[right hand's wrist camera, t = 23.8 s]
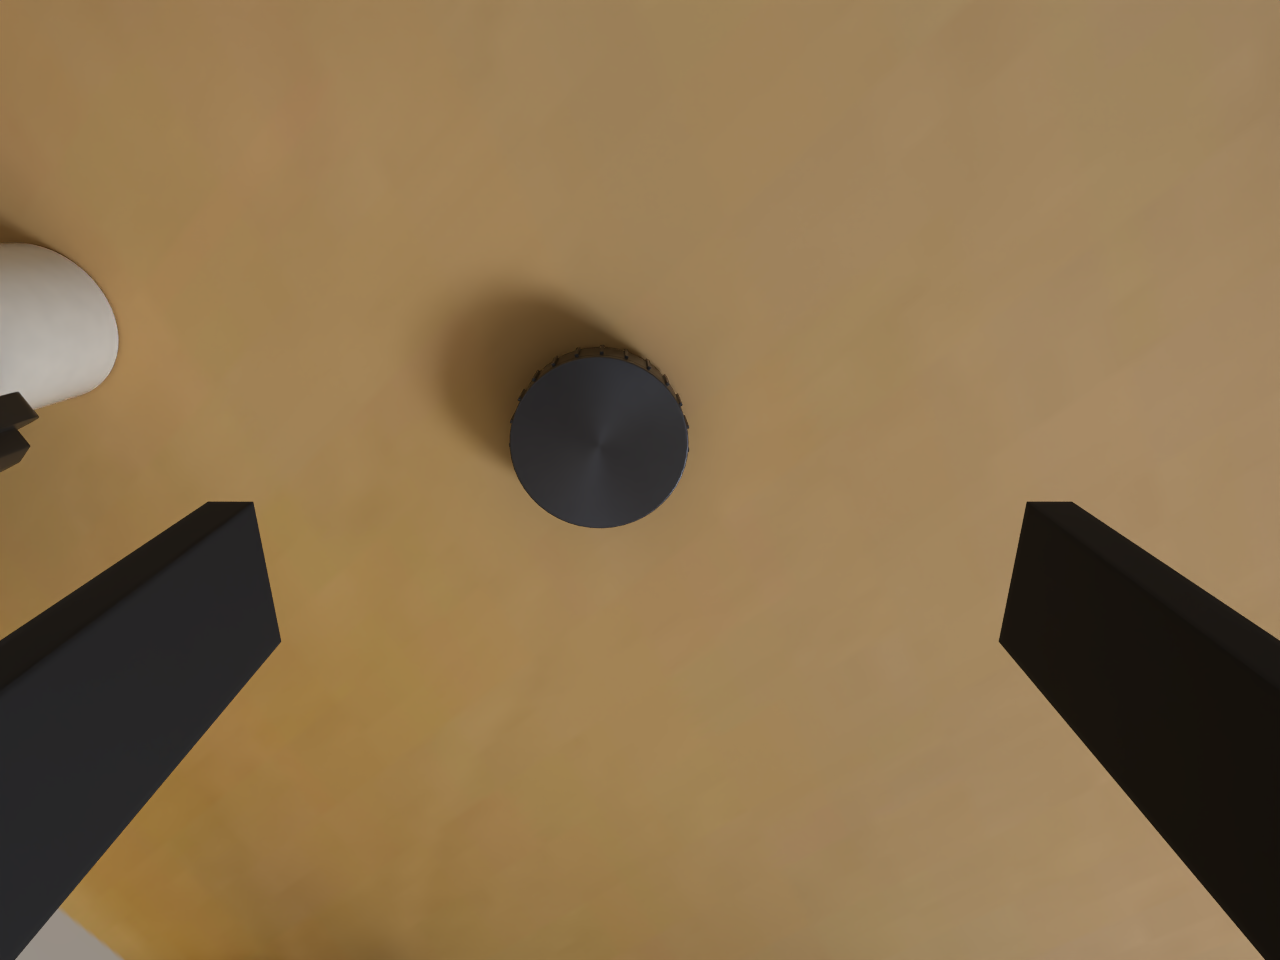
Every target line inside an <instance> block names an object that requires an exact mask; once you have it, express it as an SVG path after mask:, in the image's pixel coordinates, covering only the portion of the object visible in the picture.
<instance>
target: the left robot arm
mask: <svg viewBox="0 0 1280 960" xmlns="http://www.w3.org/2000/svg"><path fill="white" fill-rule="evenodd" d="M38 418H39V416H38V415H37V414H36V412H35V411H34V410H33V409H32V407H31V406H30V405H29V404H28V402H27V401H26V400H25V399H24V397H23V396H22V395H21V394H20V392H13V393H9V394H5V395H2V396H0V472H2V471H4V470H6V469H7V468H9V467H11V466H13V465H15V464H17V463H19V462H20V461H21V459H22V458H23V456H24V455H25V453H26V452H27V450H28V449H29V447H30V445H29V444H28V442H27V441H26V440H25V439H24V437H23V436H22V435H21V434H20V433H19V431H18V429H20V428H22V427H23V426H25V425H27V424H29V423H31V422H33V421H34V420H36V419H38Z"/></svg>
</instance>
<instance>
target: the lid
mask: <svg viewBox="0 0 1280 960" xmlns="http://www.w3.org/2000/svg"><path fill="white" fill-rule="evenodd" d="M518 401H520V402H519V405H518V407H517V409H516V411H515V413H514V415H513V417H512V419H511V421H510V423H512V424H511V431H510V443H509V447H510V452H511V459H512V463H513V466H514V470H515V472H516V474H517V477H518V479H519V481H520V482H521V484H522V486H523V487H524V489H525V490H526V492H527V493H528V494H529V495H530V497H531V498H532V499H533V500H534V501H535V502H536V503H537V504H538V505H539V506H540V507H542V508H543V509H544V510H546V511H547V512H548V513H550V514H552V515H553V516H555V517H557V518H559V519H561V520H563V521H566V522H568V523H571V524H575V525H578V526H583V527H589V528H610V527H617V526H621V525H625V524H628V523H631V522H634V521H636V520H639V519H641V518H643V517H645V516H646V515H648V514H649V513H651V512H652V511H654V510H655V509H656V508H658V507H659V506H660V505H661V504H662V503H663V502H664V501H665V500H666V499H667V498H668V497H669V496H670V494H671V493H672V492H673V490H674V489H675V487H676V486H677V484H678V482H679V480H680V478H681V476H682V473H683V471H684V468H685V465H686V460H687V456H688V452H689V447H688V431H687V429H689V425H688V423H687V420H686V417H685V415H683V412H682V410H681V407H680V406H682V402H681V400H680V397H679V395H678V394H676V395H675V393H674V391H673V389H672V387H671V386H670V384H669V381H668V378H667V376H666V375H665V374H664V375H662V374H661V373H660V372H659V371H658V370H657V369H656V368H654V367H653V366H652V365H651V364H650V361H649V360H648V359H646V360H643V359H642V358H640V357H638V356H636V355H634V354H632V353H629V352H628V350H627V349H624V351H622V350H618V349H613V348H604V345H601V347H596V348H586V349H580V347H579V348H577V349H576V351H573V352H571V353H568V354H565V355H563V356H561V357H559V358H558V356H556V357H555V358H554V360H553V362H551V363H550V364H548V365H547V366H546V367H545V368H544V369H542V370H541V371H539V370H538V371H537V372H536V373H535V375H534V377H533V379H532V382H531V383H530V385H529V387H528V388H527V390H526V389H524V390H523V392H522V393H521V395H520V397H519V399H518Z"/></svg>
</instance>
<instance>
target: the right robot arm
mask: <svg viewBox="0 0 1280 960" xmlns="http://www.w3.org/2000/svg"><path fill="white" fill-rule="evenodd" d="M280 642H281V638H280V633H279V628H278V623H277V618H276V613H275V608H274V603H273V598H272V593H271V588H270V583H269V578H268V573H267V568H266V563H265V558H264V553H263V548H262V543H261V538H260V533H259V528H258V523H257V518H256V513H255V508H254V503H253V502H207V503H205V504H204V505H202V506H201V507H199V508H198V509H196V510H195V511H193V512H192V513H190V514H189V515H187V516H186V517H185V518H183V519H182V520H180V521H179V522H177V523H176V524H174V525H173V526H171V527H170V528H168V529H167V530H165V531H164V532H162V533H161V534H159V535H158V536H156V537H155V538H153V539H152V540H150V541H149V542H147V543H146V544H144V545H143V546H141V547H140V548H138V549H137V550H135V551H134V552H132V553H131V554H129V555H128V556H126V557H125V558H123V559H122V560H120V561H119V562H117V563H116V564H114V565H113V566H111V567H110V568H108V569H107V570H105V571H104V572H102V573H101V574H99V575H98V576H96V577H95V578H93V579H92V580H90V581H89V582H87V583H86V584H84V585H83V586H81V587H80V588H78V589H77V590H75V591H74V592H72V593H71V594H69V595H68V596H66V597H65V598H63V599H62V600H60V601H59V602H57V603H56V604H54V605H53V606H51V607H50V608H48V609H47V610H45V611H44V612H42V613H41V614H39V615H38V616H36V617H35V618H33V619H32V620H30V621H29V622H27V623H26V624H24V625H23V626H21V627H20V628H18V629H17V630H15V631H14V632H12V633H11V634H10V635H8V636H7V637H5V638H4V639H2V640H1V641H0V960H15V959H16V958H17V957H18V955H19V954H20V953H21V952H22V951H23V949H24V948H25V947H26V946H27V945H28V943H29V942H30V941H31V940H32V939H33V937H34V936H35V935H36V934H37V933H38V931H39V930H40V929H41V928H42V927H43V926H44V924H45V923H46V922H47V921H48V920H49V918H50V917H51V916H52V915H53V914H54V912H55V911H56V910H57V909H58V908H59V906H60V905H61V904H62V903H63V902H64V900H65V899H66V898H67V897H68V896H69V894H70V893H71V892H72V891H73V890H74V888H75V887H76V886H77V885H78V884H79V883H80V881H81V880H82V879H83V878H84V877H85V875H86V874H87V873H88V872H89V871H90V869H91V868H92V867H93V866H94V865H95V863H96V862H97V861H98V860H99V859H100V857H101V856H102V855H103V854H104V853H105V851H106V850H107V849H108V848H109V847H110V845H111V844H112V843H113V842H114V841H115V840H116V838H117V837H118V836H119V835H120V834H121V832H122V831H123V830H124V829H125V828H126V826H127V825H128V824H129V823H130V822H131V820H132V819H133V818H134V817H135V816H136V814H137V813H138V812H139V811H140V810H141V808H142V807H143V806H144V805H145V804H146V802H147V801H148V800H149V799H150V798H151V797H152V795H153V794H154V793H155V792H156V791H157V789H158V788H159V787H160V786H161V785H162V783H163V782H164V781H165V780H166V779H167V777H168V776H169V775H170V774H171V773H172V771H173V770H174V769H175V768H176V767H177V765H178V764H179V763H180V762H181V761H182V759H183V758H184V757H185V756H186V755H187V754H188V752H189V751H190V750H191V749H192V748H193V746H194V745H195V744H196V743H197V742H198V740H199V739H200V738H201V737H202V736H203V734H204V733H205V732H206V731H207V730H208V728H209V727H210V726H211V725H212V724H213V722H214V721H215V720H216V719H217V718H218V716H219V715H220V714H221V713H222V712H223V710H224V709H225V708H226V707H227V706H228V705H229V703H230V702H231V701H232V700H233V699H234V697H235V696H236V695H237V694H238V693H239V691H240V690H241V689H242V688H243V687H244V685H245V684H246V683H247V682H248V681H249V679H250V678H251V677H252V676H253V675H254V673H255V672H256V671H257V670H258V669H259V667H260V666H261V665H262V664H263V663H264V662H265V660H266V659H267V658H268V657H269V656H270V654H271V653H272V652H273V651H274V650H275V648H276V647H277V646H278V645H279V644H280ZM999 642H1000V644H1001V645H1002V646H1003V647H1004V648H1005V650H1006V651H1007V652H1008V653H1009V654H1010V656H1011V657H1012V658H1013V659H1014V660H1015V662H1016V663H1017V664H1018V665H1019V666H1020V667H1021V669H1022V670H1023V671H1024V672H1025V673H1026V675H1027V676H1028V677H1029V678H1030V679H1031V681H1032V682H1033V683H1034V684H1035V685H1036V687H1037V688H1038V689H1039V690H1040V691H1041V693H1042V694H1043V695H1044V696H1045V697H1046V699H1047V700H1048V701H1049V702H1050V703H1051V705H1052V706H1053V707H1054V708H1055V709H1056V710H1057V712H1058V713H1059V714H1060V715H1061V716H1062V718H1063V719H1064V720H1065V721H1066V722H1067V724H1068V725H1069V726H1070V727H1071V728H1072V730H1073V731H1074V732H1075V733H1076V734H1077V736H1078V737H1079V738H1080V739H1081V740H1082V742H1083V743H1084V744H1085V745H1086V746H1087V748H1088V749H1089V750H1090V751H1091V752H1092V754H1093V755H1094V756H1095V757H1096V758H1097V759H1098V761H1099V762H1100V763H1101V764H1102V765H1103V767H1104V768H1105V769H1106V770H1107V771H1108V773H1109V774H1110V775H1111V776H1112V777H1113V779H1114V780H1115V781H1116V782H1117V783H1118V785H1119V786H1120V787H1121V788H1122V789H1123V791H1124V792H1125V793H1126V794H1127V795H1128V797H1129V798H1130V799H1131V800H1132V801H1133V802H1134V804H1135V805H1136V806H1137V807H1138V808H1139V810H1140V811H1141V812H1142V813H1143V814H1144V816H1145V817H1146V818H1147V819H1148V820H1149V822H1150V823H1151V824H1152V825H1153V826H1154V828H1155V829H1156V830H1157V831H1158V832H1159V834H1160V835H1161V836H1162V837H1163V838H1164V840H1165V841H1166V842H1167V843H1168V844H1169V845H1170V847H1171V848H1172V849H1173V850H1174V851H1175V853H1176V854H1177V855H1178V856H1179V857H1180V859H1181V860H1182V861H1183V862H1184V863H1185V865H1186V866H1187V867H1188V868H1189V869H1190V871H1191V872H1192V873H1193V874H1194V875H1195V877H1196V878H1197V879H1198V880H1199V881H1200V883H1201V884H1202V885H1203V886H1204V887H1205V888H1206V890H1207V891H1208V892H1209V893H1210V894H1211V896H1212V897H1213V898H1214V899H1215V900H1216V902H1217V903H1218V904H1219V905H1220V906H1221V908H1222V909H1223V910H1224V911H1225V912H1226V914H1227V915H1228V916H1229V917H1230V918H1231V920H1232V921H1233V922H1234V923H1235V924H1236V926H1237V927H1238V928H1239V929H1240V930H1241V931H1242V933H1243V934H1244V935H1245V936H1246V937H1247V939H1248V940H1249V941H1250V942H1251V943H1252V945H1253V946H1254V947H1255V948H1256V949H1257V951H1258V952H1259V953H1260V954H1261V955H1262V957H1263V958H1264V959H1265V960H1280V641H1279V640H1278V639H1276V638H1275V637H1273V636H1272V635H1270V634H1269V633H1268V632H1266V631H1265V630H1263V629H1262V628H1260V627H1259V626H1257V625H1256V624H1254V623H1253V622H1251V621H1250V620H1248V619H1247V618H1245V617H1244V616H1242V615H1241V614H1239V613H1238V612H1236V611H1235V610H1233V609H1232V608H1230V607H1229V606H1227V605H1226V604H1224V603H1223V602H1221V601H1220V600H1218V599H1217V598H1215V597H1214V596H1212V595H1211V594H1209V593H1208V592H1206V591H1205V590H1203V589H1202V588H1200V587H1199V586H1197V585H1196V584H1194V583H1193V582H1191V581H1190V580H1188V579H1187V578H1185V577H1184V576H1182V575H1181V574H1179V573H1178V572H1176V571H1175V570H1173V569H1172V568H1170V567H1169V566H1167V565H1166V564H1164V563H1163V562H1161V561H1160V560H1158V559H1157V558H1155V557H1154V556H1152V555H1151V554H1149V553H1148V552H1146V551H1145V550H1143V549H1142V548H1140V547H1139V546H1137V545H1136V544H1134V543H1133V542H1131V541H1130V540H1128V539H1127V538H1125V537H1124V536H1122V535H1121V534H1119V533H1118V532H1116V531H1115V530H1113V529H1112V528H1110V527H1109V526H1107V525H1106V524H1104V523H1103V522H1101V521H1100V520H1098V519H1097V518H1095V517H1094V516H1093V515H1091V514H1090V513H1088V512H1087V511H1085V510H1084V509H1082V508H1081V507H1079V506H1078V505H1076V504H1075V503H1073V502H1027V503H1026V508H1025V513H1024V518H1023V523H1022V528H1021V533H1020V538H1019V543H1018V548H1017V553H1016V558H1015V563H1014V568H1013V573H1012V578H1011V583H1010V588H1009V593H1008V598H1007V603H1006V608H1005V613H1004V618H1003V623H1002V628H1001V633H1000V638H999Z"/></svg>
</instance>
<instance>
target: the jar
mask: <svg viewBox="0 0 1280 960" xmlns="http://www.w3.org/2000/svg"><path fill="white" fill-rule="evenodd" d="M118 342H119V337H118V328H117V324H116V319H115V316H114V313H113V311H112V308H111V306H110V304H109V302H108V300H107V298H106V297H105V295H104V293H103V292H102V290H101V289H100V288H99V286H98V285H97V284H96V283H95V281H94V280H93V279H92V278H91V277H90V276H89V275H88V274H87V273H86V272H85V271H84V270H83V269H81V268H80V267H79V266H78V265H76V264H75V263H74V262H72V261H71V260H69V259H68V258H66V257H64V256H62V255H60V254H58V253H56V252H55V251H52V250H49V249H47V248H44V247H41V246H37V245H33V244H27V243H0V396H2V395H5V394H9V393H13V392H20V394H21V395H22V396H23V397H24V399H25V400H26V401H27V402H28V404H29V405H30V406H31V407H32V409H33V410H36V409H39V408H42V407H46V406H49V405H52V404H55V403H58V402H62V401H65V400H68V399H71V398H74V397H78V396H81V395H83V394H85V393H88V392H90V391H91V390H93V389H94V388H96V387H97V386H98V385H99V384H101V383H102V382H103V381H104V380H105V378H106V377H107V376H108V374H109V373H110V371H111V369H112V367H113V366H114V363H115V360H116V357H117V352H118Z"/></svg>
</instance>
